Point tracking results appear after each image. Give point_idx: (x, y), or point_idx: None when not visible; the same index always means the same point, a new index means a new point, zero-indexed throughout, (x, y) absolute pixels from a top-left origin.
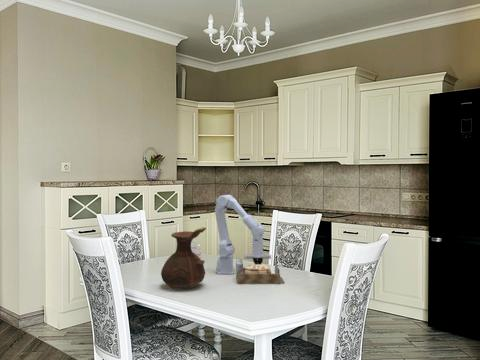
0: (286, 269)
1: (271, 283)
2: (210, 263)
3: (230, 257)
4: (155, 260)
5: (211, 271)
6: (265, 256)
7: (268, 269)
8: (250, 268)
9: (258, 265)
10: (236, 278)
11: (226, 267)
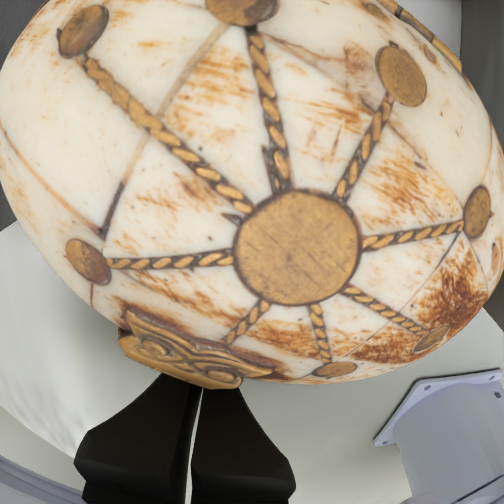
0: (17, 409)
1: None
2: (390, 501)
3: (475, 495)
4: None
5: None
6: (10, 498)
7: (21, 35)
8: (466, 88)
9: (230, 101)
10: None
11: (477, 414)
